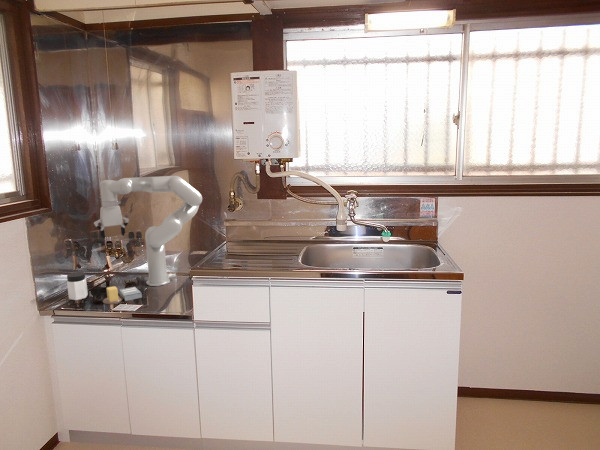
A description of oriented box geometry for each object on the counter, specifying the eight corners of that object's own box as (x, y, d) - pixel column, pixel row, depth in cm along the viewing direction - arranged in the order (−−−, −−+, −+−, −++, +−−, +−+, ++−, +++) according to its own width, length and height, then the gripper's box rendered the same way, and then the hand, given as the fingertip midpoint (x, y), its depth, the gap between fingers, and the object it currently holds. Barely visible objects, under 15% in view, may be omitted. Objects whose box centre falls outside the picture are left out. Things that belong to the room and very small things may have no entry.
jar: (91, 295, 228) (89, 272, 226) (79, 300, 220) (76, 277, 218) (77, 293, 231) (75, 271, 228) (65, 299, 223) (62, 276, 221)
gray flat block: (135, 290, 233) (135, 286, 233) (141, 297, 224) (141, 292, 223) (119, 294, 229) (119, 289, 228) (125, 301, 219) (124, 296, 219)
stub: (116, 297, 222) (114, 285, 221) (118, 300, 218) (117, 288, 217) (107, 299, 220) (106, 287, 219) (109, 302, 216) (108, 290, 215)
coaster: (120, 296, 226) (119, 294, 226) (124, 301, 219) (124, 300, 218) (101, 300, 221) (101, 298, 221) (105, 305, 214) (104, 304, 213)
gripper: (125, 201, 238) (128, 232, 241) (90, 205, 228) (94, 237, 231) (129, 203, 232) (132, 235, 235) (93, 206, 222) (97, 240, 225)
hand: (113, 236), depth 233 cm, fingers open, 9 cm apart
